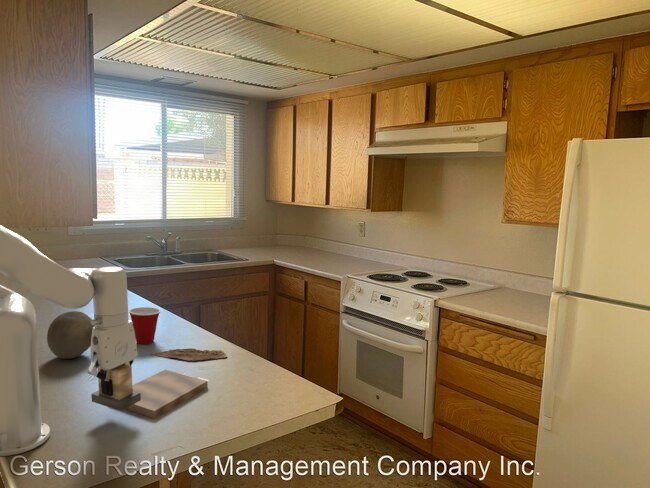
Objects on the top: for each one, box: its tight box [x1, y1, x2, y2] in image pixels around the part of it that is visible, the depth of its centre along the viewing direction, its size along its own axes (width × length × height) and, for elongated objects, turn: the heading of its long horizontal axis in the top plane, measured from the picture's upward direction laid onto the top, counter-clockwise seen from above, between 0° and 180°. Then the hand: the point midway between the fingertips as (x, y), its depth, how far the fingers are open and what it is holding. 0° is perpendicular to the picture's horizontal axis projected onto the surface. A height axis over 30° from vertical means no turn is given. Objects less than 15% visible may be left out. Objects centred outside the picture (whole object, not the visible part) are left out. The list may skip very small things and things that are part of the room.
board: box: [125, 369, 208, 419], centre depth 132 cm, size 20×16×2 cm
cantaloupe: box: [46, 310, 95, 360], centre depth 156 cm, size 14×14×15 cm
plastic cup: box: [128, 306, 162, 346], centre depth 172 cm, size 11×11×12 cm
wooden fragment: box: [150, 348, 228, 362], centre depth 161 cm, size 26×11×1 cm, turn 85°
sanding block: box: [91, 364, 141, 412], centre depth 118 cm, size 6×10×9 cm, turn 64°
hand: (115, 389), depth 118 cm, fingers closed on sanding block, 4 cm apart
